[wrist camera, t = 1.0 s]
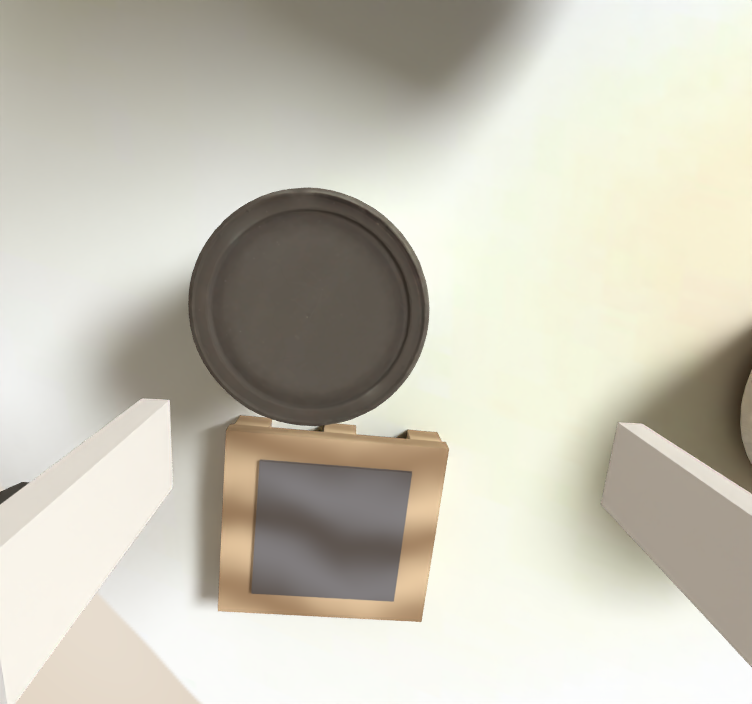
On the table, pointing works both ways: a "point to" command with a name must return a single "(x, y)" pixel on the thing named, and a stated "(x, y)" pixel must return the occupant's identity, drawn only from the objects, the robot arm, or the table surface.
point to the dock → (328, 521)
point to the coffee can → (308, 306)
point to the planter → (747, 418)
